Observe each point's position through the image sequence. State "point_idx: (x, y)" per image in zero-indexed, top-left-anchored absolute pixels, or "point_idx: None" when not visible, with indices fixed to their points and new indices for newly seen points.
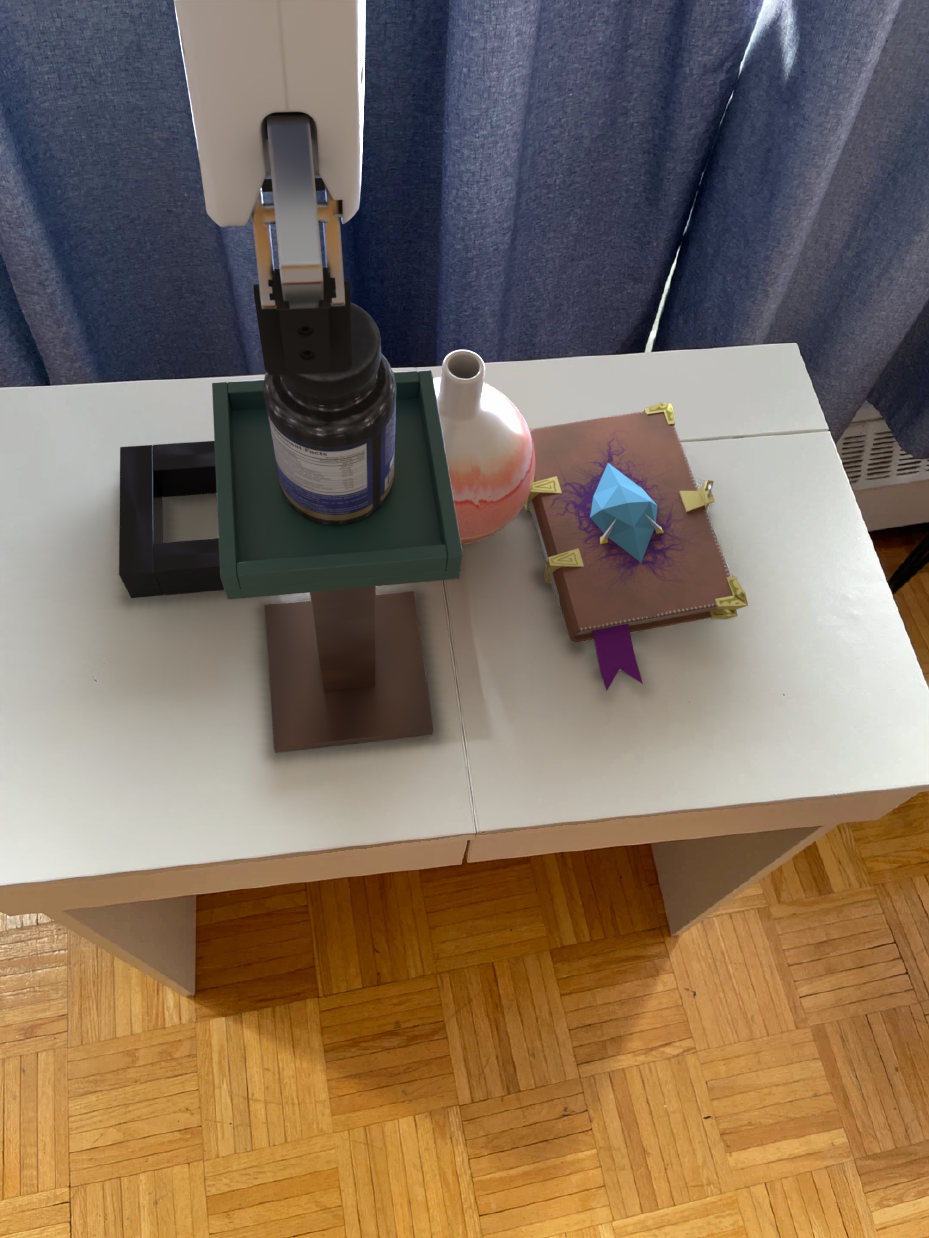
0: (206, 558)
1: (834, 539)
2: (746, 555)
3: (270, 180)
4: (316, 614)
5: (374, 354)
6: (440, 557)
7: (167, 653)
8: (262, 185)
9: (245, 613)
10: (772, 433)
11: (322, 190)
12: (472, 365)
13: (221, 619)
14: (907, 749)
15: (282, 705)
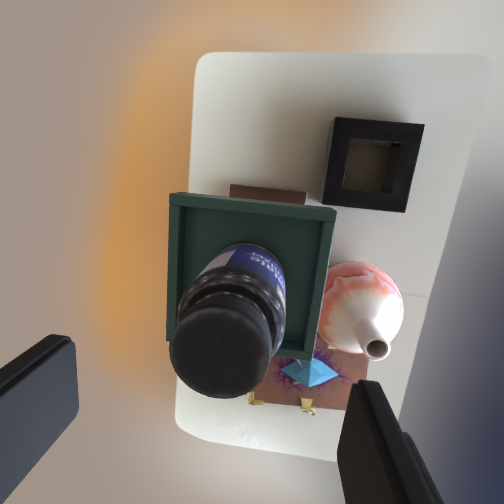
0: (333, 166)
1: (280, 443)
2: (281, 408)
3: (353, 409)
4: None
5: (193, 388)
6: (166, 328)
7: (294, 138)
8: (354, 393)
9: (307, 181)
10: None
11: (337, 449)
12: (380, 351)
13: (306, 168)
14: (185, 427)
15: (250, 191)
